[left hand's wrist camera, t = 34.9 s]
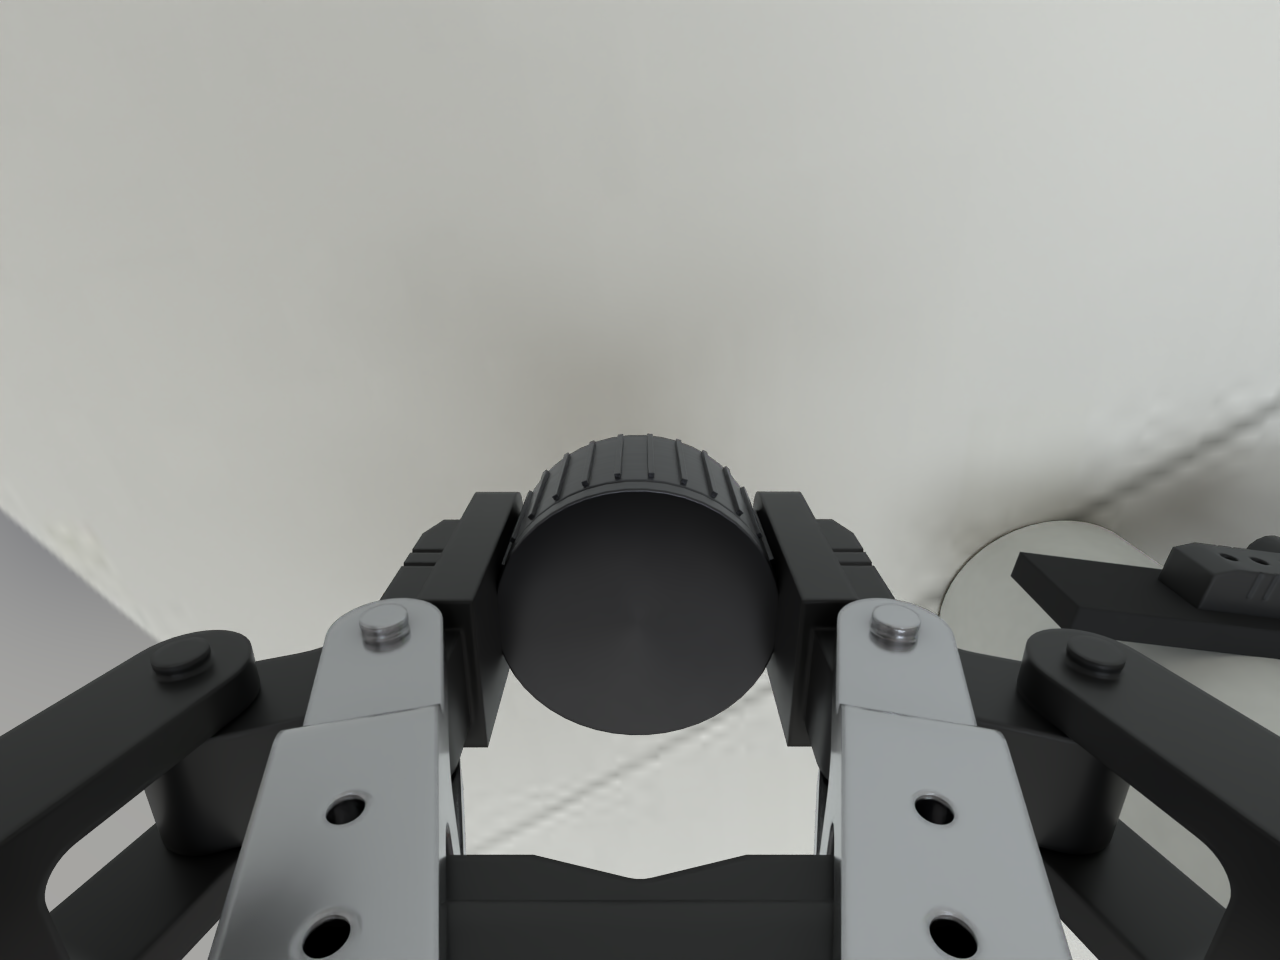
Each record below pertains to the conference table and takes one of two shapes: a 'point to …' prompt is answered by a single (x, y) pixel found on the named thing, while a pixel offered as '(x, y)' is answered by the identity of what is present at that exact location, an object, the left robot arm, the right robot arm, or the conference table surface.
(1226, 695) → the bottle
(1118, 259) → the conference table surface
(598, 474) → the cap
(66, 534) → the conference table surface
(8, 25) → the conference table surface
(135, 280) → the conference table surface
